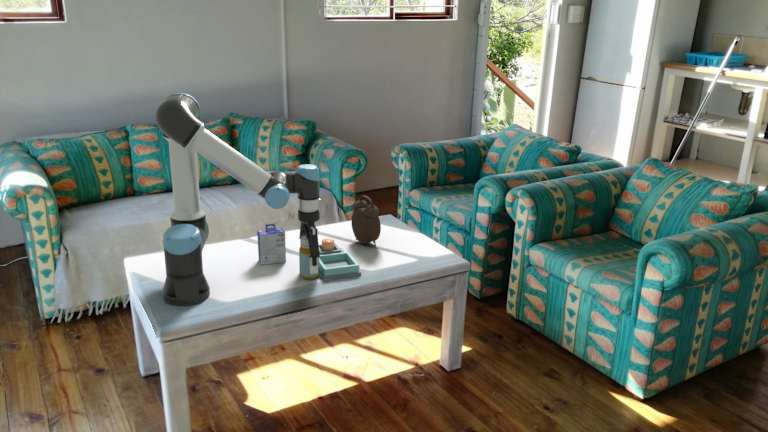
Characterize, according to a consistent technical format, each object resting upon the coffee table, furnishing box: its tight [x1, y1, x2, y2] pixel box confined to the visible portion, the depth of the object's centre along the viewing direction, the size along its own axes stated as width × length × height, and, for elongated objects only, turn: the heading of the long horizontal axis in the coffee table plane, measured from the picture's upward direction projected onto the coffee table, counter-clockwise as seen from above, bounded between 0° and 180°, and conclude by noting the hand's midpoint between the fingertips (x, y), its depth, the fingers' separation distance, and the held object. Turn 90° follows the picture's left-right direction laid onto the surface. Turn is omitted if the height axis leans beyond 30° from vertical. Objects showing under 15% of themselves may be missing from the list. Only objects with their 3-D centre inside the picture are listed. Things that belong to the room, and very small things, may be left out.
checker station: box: [319, 242, 362, 281], centre depth 249 cm, size 14×24×4 cm, turn 21°
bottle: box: [298, 235, 320, 281], centre depth 237 cm, size 7×7×15 cm
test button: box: [321, 238, 335, 251], centre depth 254 cm, size 5×5×5 cm
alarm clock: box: [351, 194, 382, 247], centre depth 268 cm, size 14×7×20 cm, turn 32°
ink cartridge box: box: [256, 223, 287, 266], centre depth 249 cm, size 10×6×14 cm, turn 112°
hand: (309, 266), depth 238 cm, fingers open, 11 cm apart
